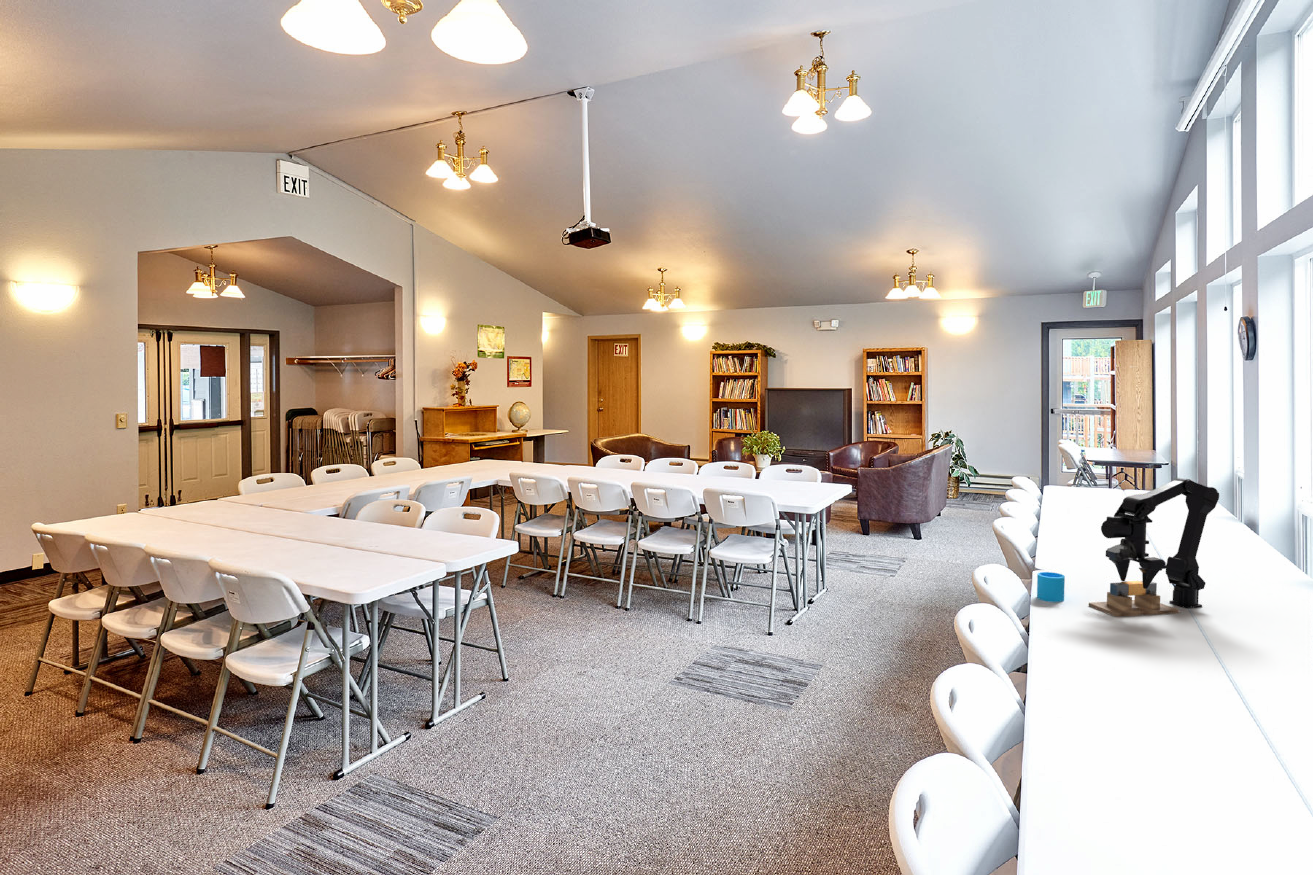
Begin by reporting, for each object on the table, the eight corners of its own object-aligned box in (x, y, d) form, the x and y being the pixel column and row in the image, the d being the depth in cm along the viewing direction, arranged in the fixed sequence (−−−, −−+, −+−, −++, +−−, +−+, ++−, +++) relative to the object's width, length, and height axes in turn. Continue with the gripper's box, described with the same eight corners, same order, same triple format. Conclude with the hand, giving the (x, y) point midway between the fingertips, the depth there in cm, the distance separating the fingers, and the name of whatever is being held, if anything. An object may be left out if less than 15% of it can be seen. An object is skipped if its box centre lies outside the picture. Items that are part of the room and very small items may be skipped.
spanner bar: (1148, 591, 243) (1149, 580, 243) (1156, 593, 240) (1157, 582, 240) (1109, 593, 241) (1110, 582, 241) (1117, 596, 238) (1117, 584, 238)
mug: (1059, 603, 248) (1060, 579, 248) (1033, 599, 254) (1034, 575, 254) (1070, 596, 257) (1071, 572, 256) (1045, 591, 263) (1045, 568, 262)
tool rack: (1148, 601, 249) (1149, 583, 248) (1179, 612, 237) (1179, 593, 236) (1088, 605, 245) (1089, 587, 245) (1116, 616, 234) (1116, 597, 233)
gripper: (1091, 532, 248) (1090, 578, 249) (1135, 543, 229) (1133, 594, 230) (1121, 530, 249) (1120, 576, 250) (1167, 542, 231) (1166, 592, 232)
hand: (1133, 584), depth 241 cm, fingers open, 9 cm apart
